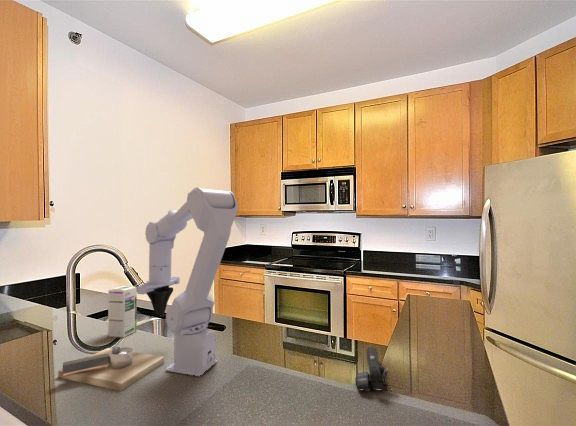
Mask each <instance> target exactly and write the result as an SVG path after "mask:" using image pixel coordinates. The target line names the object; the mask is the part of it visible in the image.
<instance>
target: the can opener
mask: <svg viewBox="0 0 576 426" xmlns="http://www.w3.org/2000/svg"><path fill="white" fill-rule="evenodd" d="M366 360H367V364H368V371H369V373H368V371H363V372H359V373H357V374H355V379H354V382H355V386H356V389H357V390H358V389H363V390H369V389H370V390H371V388H372V389H373V388H374V389H383V390H385V388H386V389H387V388H388V384H387V380H386V379H387V376H388V374H389V373H390V371H389V367H386V366H382V365H380V363H379V356H378V350H377V349H376V348H375V347H374V346H369V347H368V348H367V349H366ZM374 389H373V390H374ZM363 390H362V391H363Z"/></svg>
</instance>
